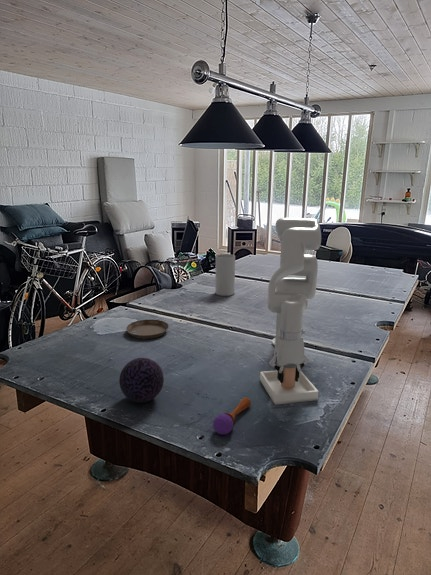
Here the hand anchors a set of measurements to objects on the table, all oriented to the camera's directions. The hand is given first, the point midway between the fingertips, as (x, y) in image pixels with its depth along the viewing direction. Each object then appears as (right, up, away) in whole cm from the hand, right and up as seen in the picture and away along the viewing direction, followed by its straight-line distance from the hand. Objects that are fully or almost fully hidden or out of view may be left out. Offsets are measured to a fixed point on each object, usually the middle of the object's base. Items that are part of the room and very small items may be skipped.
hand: (288, 380), depth 150 cm
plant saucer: (-60, +11, +55) cm, 82 cm away
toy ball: (-52, -6, -6) cm, 52 cm away
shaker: (0, -2, +1) cm, 2 cm away
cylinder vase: (-20, +29, +121) cm, 126 cm away
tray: (0, -4, +1) cm, 4 cm away
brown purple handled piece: (-21, -9, -18) cm, 29 cm away
